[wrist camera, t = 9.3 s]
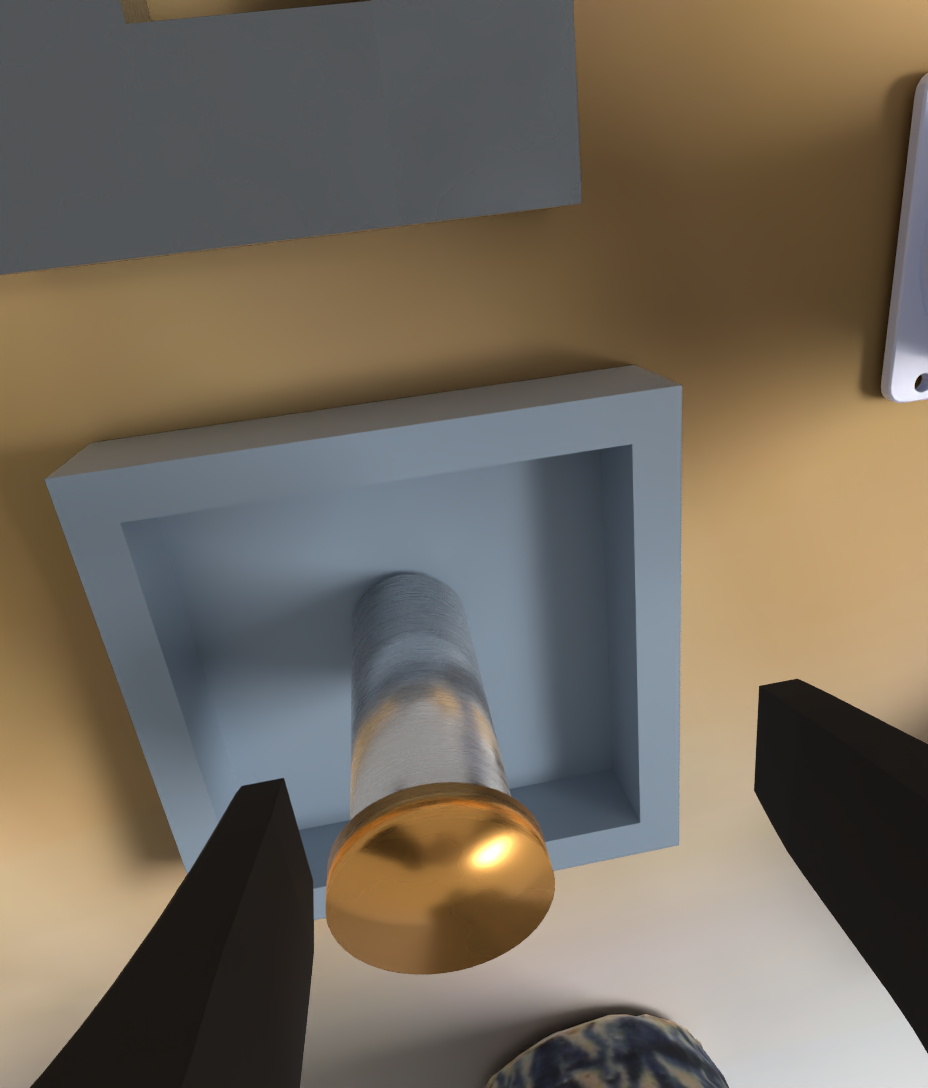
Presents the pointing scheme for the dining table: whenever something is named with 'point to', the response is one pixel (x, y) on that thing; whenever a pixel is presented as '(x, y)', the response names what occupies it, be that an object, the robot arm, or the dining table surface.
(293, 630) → the tray
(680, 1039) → the jug
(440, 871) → the pin
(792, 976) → the dining table surface
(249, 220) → the grey square frame
